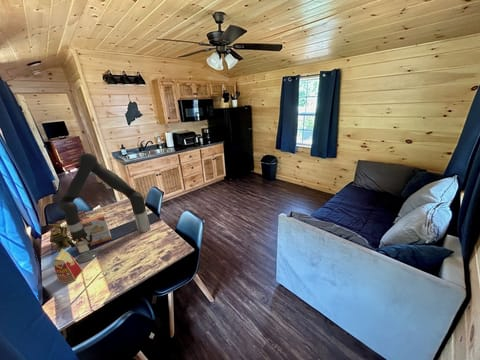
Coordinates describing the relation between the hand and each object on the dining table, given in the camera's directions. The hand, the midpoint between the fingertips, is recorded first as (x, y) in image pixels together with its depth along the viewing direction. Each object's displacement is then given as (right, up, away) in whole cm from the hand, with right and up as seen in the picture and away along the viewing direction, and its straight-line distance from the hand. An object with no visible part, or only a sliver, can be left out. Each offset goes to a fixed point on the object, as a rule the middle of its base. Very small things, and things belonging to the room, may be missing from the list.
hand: (84, 248), depth 139 cm
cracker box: (-1, 0, +18) cm, 18 cm away
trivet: (+1, -6, +2) cm, 6 cm away
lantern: (-32, +7, +40) cm, 52 cm away
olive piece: (-27, -3, +15) cm, 31 cm away
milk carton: (+3, -13, -14) cm, 19 cm away
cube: (0, 0, 0) cm, 0 cm away
